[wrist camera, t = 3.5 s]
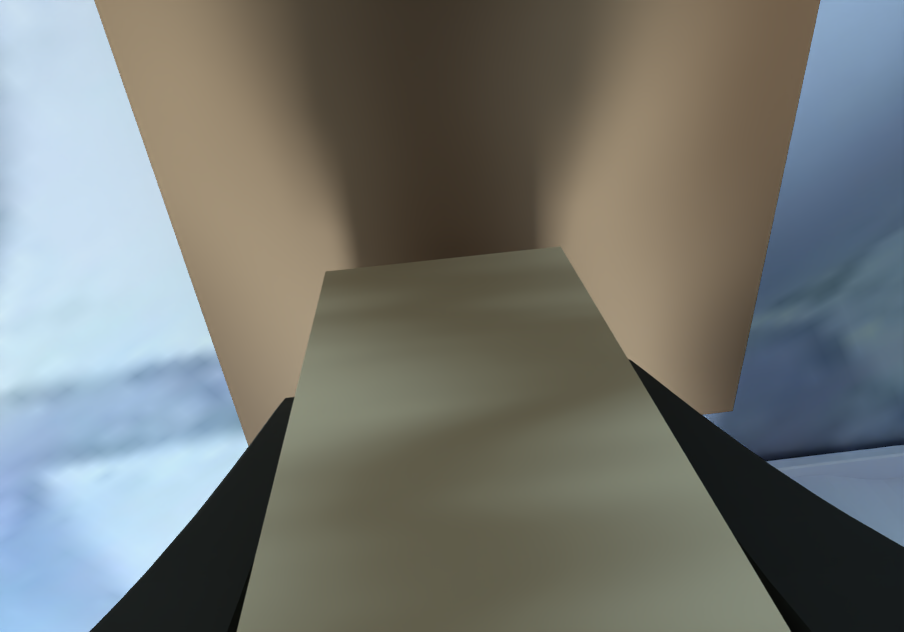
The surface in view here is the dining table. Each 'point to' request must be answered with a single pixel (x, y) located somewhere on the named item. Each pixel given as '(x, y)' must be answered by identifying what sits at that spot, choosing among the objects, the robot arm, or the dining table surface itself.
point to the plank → (469, 158)
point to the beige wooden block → (486, 470)
